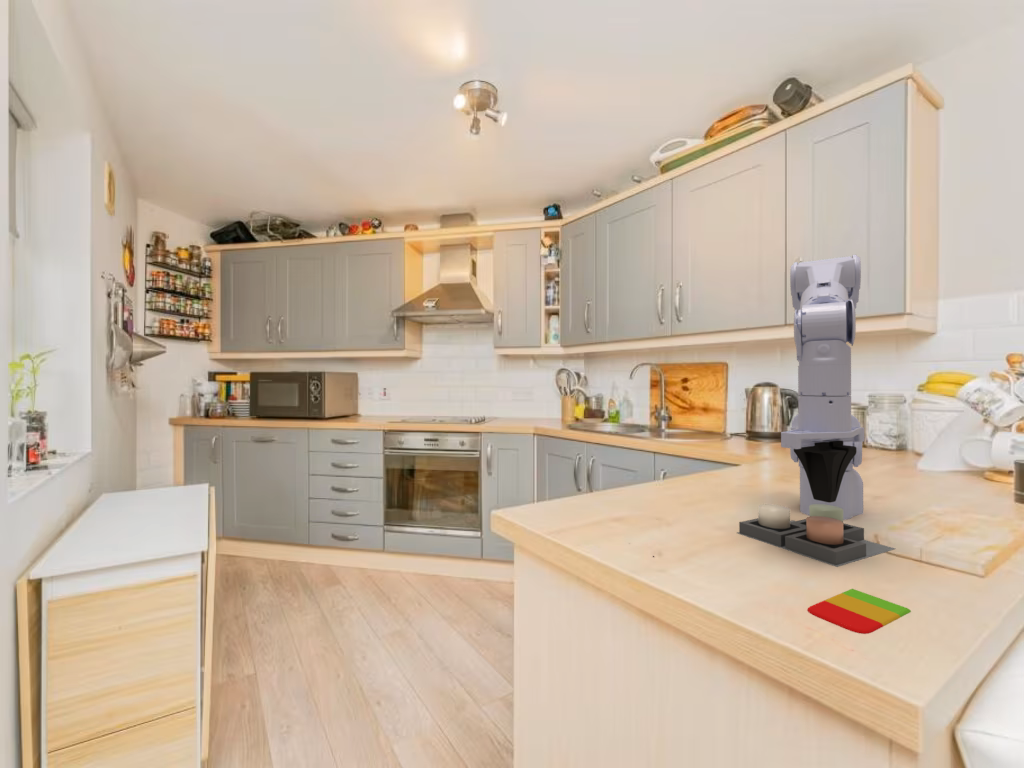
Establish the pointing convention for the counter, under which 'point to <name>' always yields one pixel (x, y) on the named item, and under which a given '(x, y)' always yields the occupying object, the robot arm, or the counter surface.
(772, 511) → the cream button
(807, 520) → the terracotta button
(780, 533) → the grey compartment tray
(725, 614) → the counter surface
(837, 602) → the striped ice pop
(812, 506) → the sage button
